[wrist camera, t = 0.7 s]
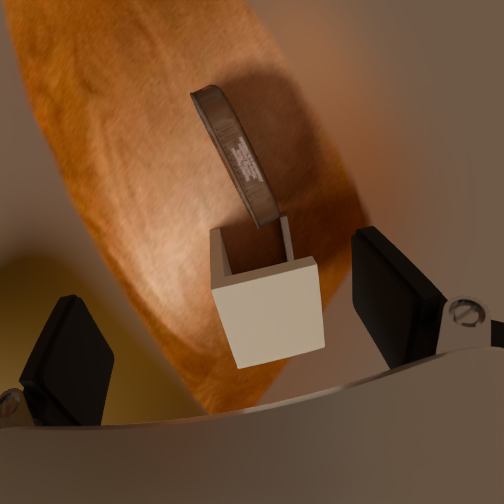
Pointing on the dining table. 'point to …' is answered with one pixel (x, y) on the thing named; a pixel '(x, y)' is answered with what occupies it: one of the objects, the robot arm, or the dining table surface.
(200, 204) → the dining table surface
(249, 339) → the white u-channel
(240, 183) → the tin
